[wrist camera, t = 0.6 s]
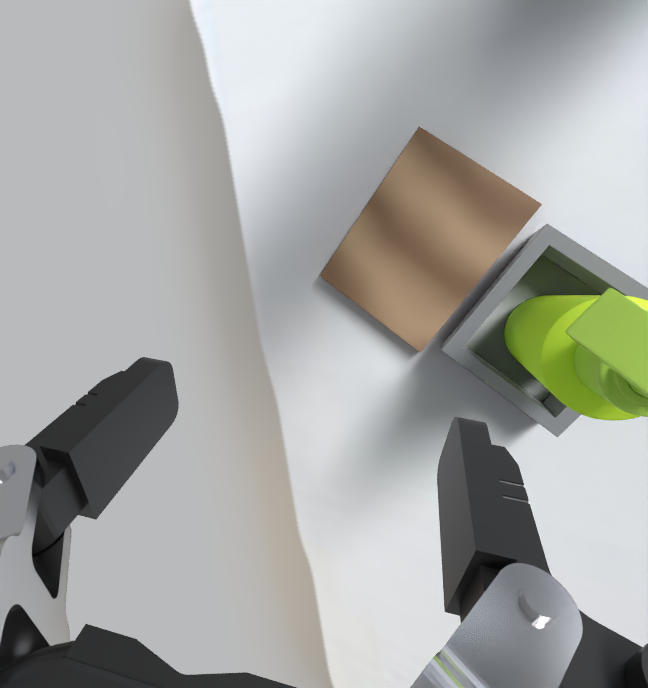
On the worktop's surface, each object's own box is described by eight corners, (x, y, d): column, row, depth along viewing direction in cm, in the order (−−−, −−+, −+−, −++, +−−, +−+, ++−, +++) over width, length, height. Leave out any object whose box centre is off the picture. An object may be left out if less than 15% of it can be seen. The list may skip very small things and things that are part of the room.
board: (420, 134, 31) (419, 126, 30) (537, 208, 29) (541, 204, 28) (324, 276, 35) (319, 275, 34) (421, 350, 33) (420, 352, 32)
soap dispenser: (531, 271, 30) (674, 230, 11) (607, 328, 29) (915, 392, 10) (477, 328, 31) (520, 379, 13) (547, 384, 30) (710, 531, 11)
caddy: (534, 232, 29) (547, 223, 25) (653, 310, 28) (686, 312, 24) (442, 343, 32) (441, 350, 29) (544, 419, 31) (557, 437, 27)
